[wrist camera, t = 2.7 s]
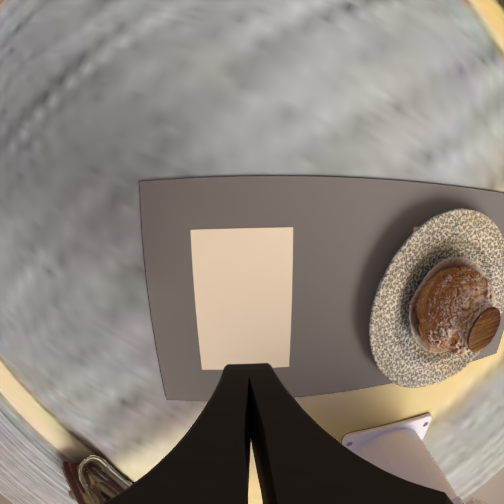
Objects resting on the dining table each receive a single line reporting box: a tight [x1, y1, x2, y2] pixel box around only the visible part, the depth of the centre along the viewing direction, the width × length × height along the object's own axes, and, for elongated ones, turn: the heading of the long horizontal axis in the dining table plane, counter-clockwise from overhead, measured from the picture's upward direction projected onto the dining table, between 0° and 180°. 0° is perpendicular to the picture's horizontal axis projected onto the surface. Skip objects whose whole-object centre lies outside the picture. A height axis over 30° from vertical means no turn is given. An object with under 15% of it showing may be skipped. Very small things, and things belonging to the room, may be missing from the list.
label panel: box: [140, 176, 504, 401], centre depth 16 cm, size 13×26×1 cm, turn 91°
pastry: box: [369, 208, 504, 388], centre depth 14 cm, size 12×12×5 cm
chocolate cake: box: [62, 455, 133, 504], centre depth 18 cm, size 10×7×12 cm
